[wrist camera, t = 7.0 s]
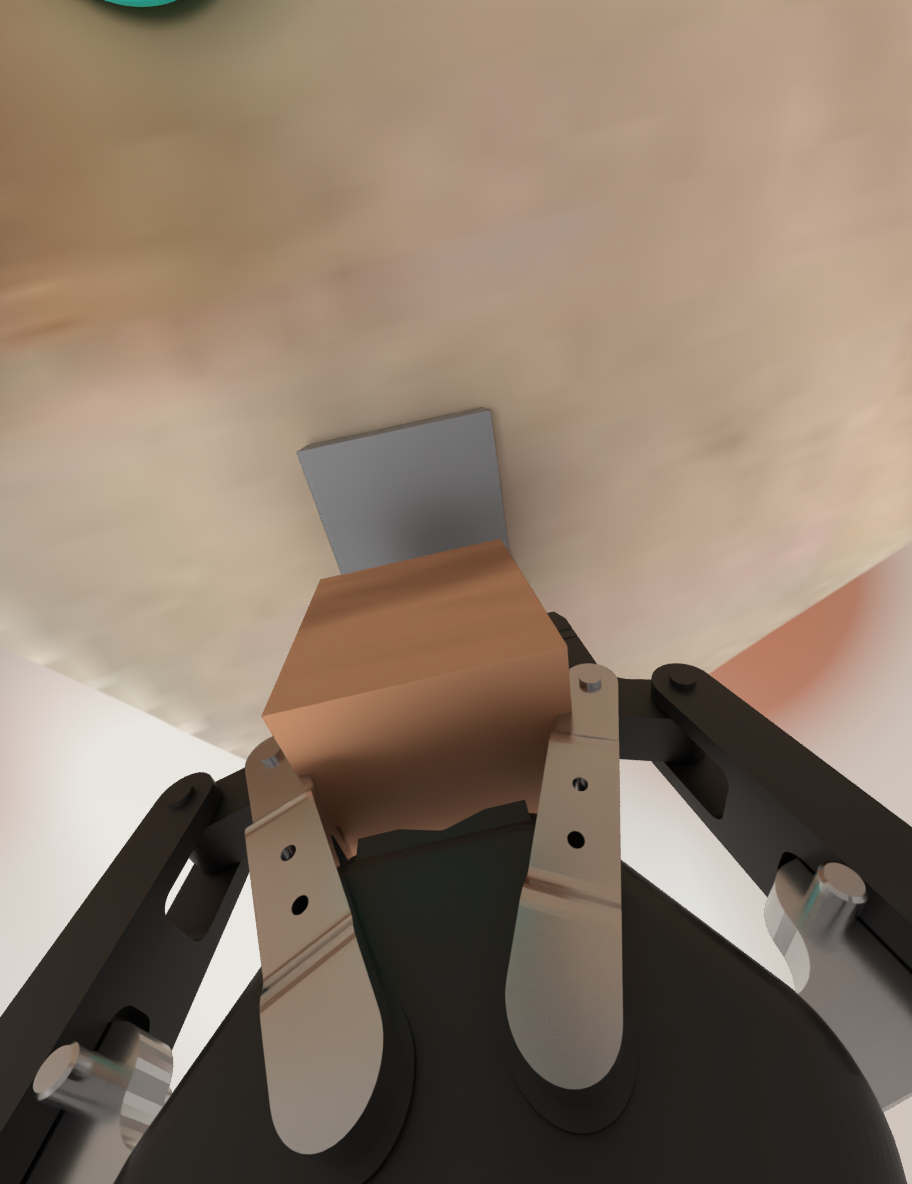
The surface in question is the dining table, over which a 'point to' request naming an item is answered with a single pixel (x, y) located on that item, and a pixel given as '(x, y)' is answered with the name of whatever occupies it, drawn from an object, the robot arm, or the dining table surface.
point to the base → (407, 489)
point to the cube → (422, 692)
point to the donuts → (141, 2)
